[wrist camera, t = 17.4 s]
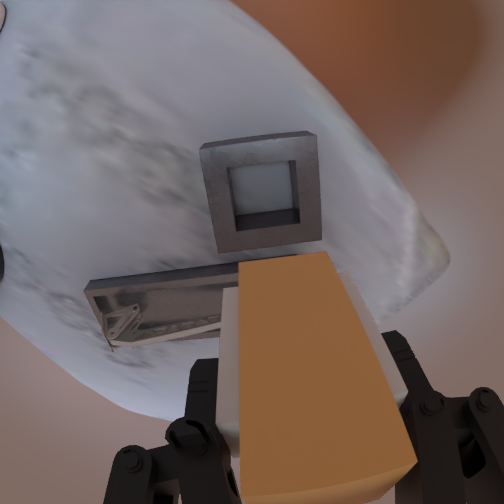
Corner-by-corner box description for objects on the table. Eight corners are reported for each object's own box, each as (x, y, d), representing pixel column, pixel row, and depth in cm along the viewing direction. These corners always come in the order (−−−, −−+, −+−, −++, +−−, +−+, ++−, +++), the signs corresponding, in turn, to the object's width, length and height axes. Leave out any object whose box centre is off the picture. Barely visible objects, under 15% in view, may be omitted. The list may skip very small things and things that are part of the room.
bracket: (100, 309, 33) (104, 365, 25) (255, 258, 40) (296, 296, 32) (109, 328, 34) (117, 385, 26) (257, 278, 42) (296, 318, 34)
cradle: (115, 332, 39) (110, 343, 37) (90, 280, 34) (83, 290, 32) (299, 314, 38) (302, 326, 36) (296, 254, 34) (300, 264, 32)
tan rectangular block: (249, 327, 15) (259, 520, 7) (238, 262, 14) (240, 496, 5) (324, 317, 15) (378, 499, 6) (326, 251, 13) (417, 461, 5)
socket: (220, 235, 32) (218, 253, 29) (204, 143, 27) (198, 149, 24) (312, 223, 32) (321, 239, 28) (306, 131, 27) (316, 135, 24)
